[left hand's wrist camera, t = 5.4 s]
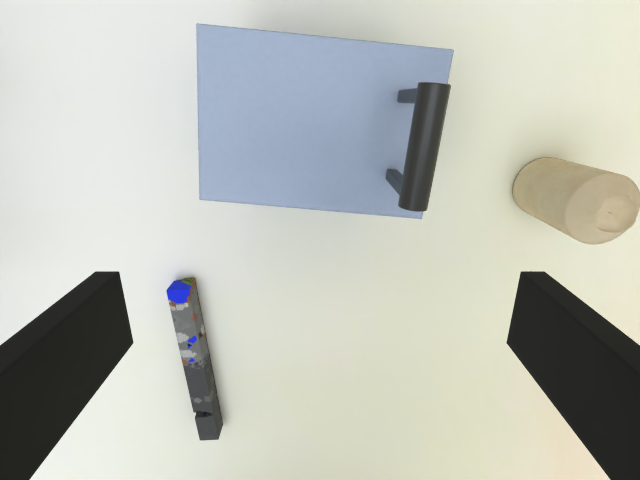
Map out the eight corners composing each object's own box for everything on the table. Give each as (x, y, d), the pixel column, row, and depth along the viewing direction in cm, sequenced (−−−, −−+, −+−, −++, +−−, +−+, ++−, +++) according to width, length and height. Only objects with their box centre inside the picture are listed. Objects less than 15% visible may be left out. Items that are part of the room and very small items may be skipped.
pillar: (200, 440, 45) (165, 287, 38) (205, 425, 47) (173, 277, 40) (218, 439, 45) (187, 286, 38) (222, 424, 47) (194, 276, 40)
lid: (449, 51, 23) (510, 28, 16) (418, 215, 26) (457, 260, 19) (200, 26, 22) (142, -10, 15) (203, 196, 26) (157, 235, 19)
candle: (504, 209, 38) (565, 245, 28) (522, 152, 36) (595, 171, 26) (558, 217, 38) (636, 256, 28) (579, 161, 36) (671, 183, 27)
